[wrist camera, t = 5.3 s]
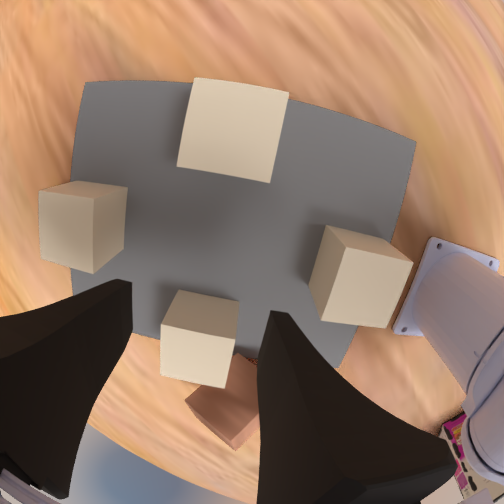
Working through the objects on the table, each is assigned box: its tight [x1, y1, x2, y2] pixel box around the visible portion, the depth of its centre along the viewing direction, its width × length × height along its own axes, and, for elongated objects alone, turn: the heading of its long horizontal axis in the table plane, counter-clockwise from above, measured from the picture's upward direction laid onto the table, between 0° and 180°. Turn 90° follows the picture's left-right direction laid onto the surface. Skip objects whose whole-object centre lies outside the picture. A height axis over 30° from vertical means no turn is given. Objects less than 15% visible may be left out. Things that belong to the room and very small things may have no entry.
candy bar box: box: [438, 412, 504, 503], centre depth 18 cm, size 11×5×16 cm, turn 109°
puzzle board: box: [38, 77, 416, 389], centre depth 15 cm, size 21×17×5 cm
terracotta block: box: [185, 353, 260, 451], centre depth 17 cm, size 4×4×5 cm
